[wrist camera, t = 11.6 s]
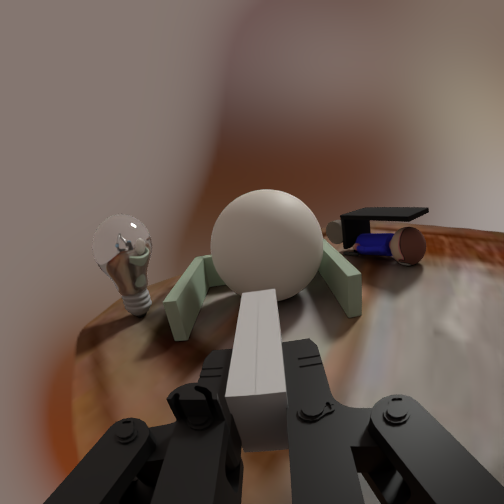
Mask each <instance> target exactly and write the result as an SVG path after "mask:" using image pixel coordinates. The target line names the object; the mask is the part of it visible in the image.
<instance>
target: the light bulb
mask: <svg viewBox="0 0 504 504" xmlns="http://www.w3.org/2000/svg"><path fill="white" fill-rule="evenodd" d="M92 250H93V255H94V258H95V261H96V263H97V264H98V266H99V267H100V269H101V270H102V271H103V272H104V273H105V274H106V275H107V276H108V277H109V278H110V279H111V280H112V281H113V283H114V284H115V286H116V289H117V290H118V292H119V293H120V294H121V295H122V299H123V300H124V301H123V303H124V305H125V309H126V310H127V311H128V312H130V313H131V314H133V315H136V316H137V317H142V316H144V315H146V313H147V311H148V310H149V308H150V306H151V304H152V301H151V300H150V295H149V291H148V290H147V285H148V278H147V268H148V264H149V261H150V258H151V253H152V241H151V237H150V234H149V232H148V230H147V228H146V227H145V226H144V224H143V223H142V222H140V221H139V220H138V219H137V218H135V217H133V216H130V215H126V214H119V215H114V216H111V217H109V218H107V219H106V220H104V221H103V222H102V223H101V224H100V226H99V227H98V228H97V230H96V232H95V234H94V238H93V243H92Z"/></svg>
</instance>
